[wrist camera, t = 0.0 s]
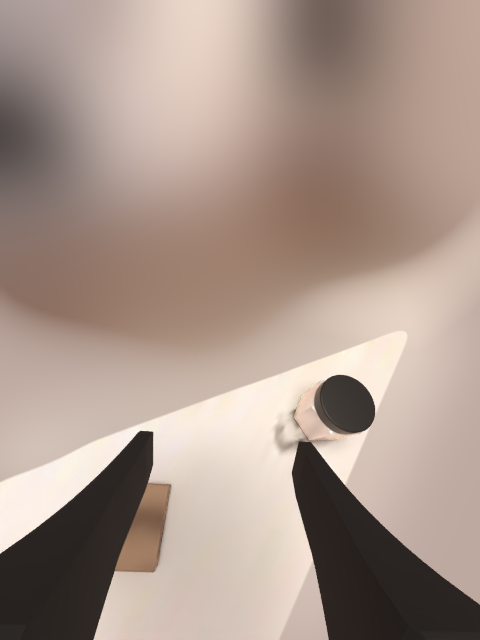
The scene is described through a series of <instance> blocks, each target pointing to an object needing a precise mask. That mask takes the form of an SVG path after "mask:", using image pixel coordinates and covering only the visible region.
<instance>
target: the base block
mask: <svg viewBox="0 0 480 640" xmlns="http://www.w3.org/2000/svg"><path fill="white" fill-rule="evenodd" d="M170 486H171V485H169V484H151V483H148V484H147V487H146V490H145V493H144V495H143V498H142V500H141V503H140V505H139V508H138V510H137V513H136V515H135V518H134V520H133V523H132V525H131V528H130V530H129V533H128V535H127V538H126V540H125V543H124V545H123V548H122V550H121V553H120V556H119V559H118V562H117V565H116V568H115V571H128V572H154V571H155V569H156V567H157V565H158V559H159V553H160V547H161V541H162V535H163V528H164V522H165V516H166V510H167V504H168V498H169V492H170Z"/></svg>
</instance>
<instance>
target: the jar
mask: <svg viewBox="0 0 480 640" xmlns="http://www.w3.org/2000/svg"><path fill="white" fill-rule="evenodd" d="M374 417H375V405H374V401H373V399H372V396H371V395H370V393H369V391H368V390H367V389H366V387H365V386H364V385H363V384H361V383H360V382H359V381H358V380H356V379H354V378H352V377H349V376H346V375H335V376H332V377H330V378H328V379H327V380H326V381H320V382H318V383H317V384H316V385H314V386H313V387H312V388H311V389H309V390H308V391H307V392H306V393H304V394H303V395H302V396H301V399H300V401H299V404H298V407H297V409H296V412H295V414H294V419H295V420H296V422H297V423H298V424H299V426H300V427H301V429H302V430H303V432H304V433H305V435H306V436H307V438H308V439H309V440H335V439H339V438H344V437H348V436H352V435H357V434H360V433H361V432H362V431H365V430H366V429H368V428H369V427H370V426H371V424H372V423H373V420H374Z"/></svg>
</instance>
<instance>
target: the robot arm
mask: <svg viewBox="0 0 480 640" xmlns="http://www.w3.org/2000/svg"><path fill="white" fill-rule="evenodd" d="M152 466H153V432H149V431H140V432H138V433H137V434H136V436H135V437H134V438H133V439H132V440H131V441H130V443H129V444H128V445H127V446H126V447H125V448H124V449H123V450H122V451H121V452H120V454H119V455H118V456H117V457H116V458H115V459H114V460H113V461H112V462H111V463H110V464H109V465H108V466H107V467H106V468H105V469H104V470H103V471H102V472H101V473H100V474H99V475H98V476H97V477H96V478H95V479H94V480H93V481H92V482H91V483H90V484H89V485H87V486H86V487H85V488H84V489H83V490H82V491H81V492H80V493H79V494H78V495H76V496H75V497H74V498H73V499H72V500H71V501H69V502H68V503H67V504H66V505H65V506H64V507H62V508H61V509H60V510H59V511H57V512H56V513H55V514H54V515H52V516H51V517H50V518H49V519H47V520H46V521H45V522H43V523H42V524H41V525H40V526H38V527H37V528H36V529H34V530H33V531H32V532H30V533H29V534H28V535H26V536H25V537H23V538H22V539H21V540H19V541H18V542H16V543H15V544H13V545H12V546H11V547H9V548H8V549H6V550H5V551H3V552H2V553H1V554H0V640H93V639H94V636H95V632H96V629H97V626H98V622H99V619H100V616H101V613H102V609H103V606H104V603H105V600H106V596H107V593H108V590H109V587H110V584H111V580H112V577H113V574H114V571H115V568H116V565H117V562H118V559H119V556H120V553H121V550H122V548H123V545H124V543H125V540H126V538H127V535H128V533H129V530H130V528H131V525H132V523H133V520H134V518H135V515H136V513H137V510H138V508H139V505H140V503H141V500H142V498H143V495H144V493H145V490H146V487H147V484H148V480H149V477H150V473H151V470H152ZM292 477H293V483H294V489H295V494H296V499H297V502H298V506H299V510H300V513H301V517H302V520H303V524H304V528H305V531H306V535H307V538H308V542H309V545H310V549H311V552H312V556H313V561H314V565H315V569H316V574H317V579H318V584H319V589H320V594H321V599H322V604H323V610H324V615H325V621H326V626H327V632H328V637H329V640H480V605H479V604H478V603H477V602H475V601H474V600H473V599H471V598H470V597H469V596H467V595H466V594H464V593H463V592H462V591H460V590H459V589H458V588H456V587H455V586H454V585H452V584H451V583H450V582H448V581H447V580H446V579H444V578H443V577H442V576H440V575H439V574H438V573H437V572H435V571H434V570H433V569H432V568H430V567H429V566H428V565H427V564H426V563H424V562H423V561H422V560H421V559H419V558H418V557H417V556H416V555H415V554H414V553H412V552H411V551H410V550H409V549H408V548H406V547H405V546H404V545H403V544H402V543H401V542H400V541H399V540H398V539H397V538H395V537H394V536H393V535H392V534H391V533H390V532H389V531H388V530H387V529H386V528H385V527H384V526H383V525H382V524H380V522H379V521H378V520H377V519H376V518H375V517H374V516H373V515H372V514H370V512H369V511H368V510H367V509H366V508H365V507H364V506H363V505H362V504H361V503H360V502H359V501H358V500H357V499H356V497H355V496H354V495H353V494H352V493H351V492H350V491H349V490H348V488H347V487H346V486H345V485H344V484H343V482H342V481H341V480H340V479H339V478H338V476H337V475H336V474H335V473H334V471H333V470H332V469H331V468H330V466H329V465H328V464H327V462H326V461H325V460H324V459H323V457H322V456H321V455H320V453H319V452H318V451H317V449H316V448H315V447H314V446H313V444H312V443H311V442H300V441H299V444H298V448H297V452H296V457H295V461H294V465H293V470H292Z"/></svg>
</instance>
